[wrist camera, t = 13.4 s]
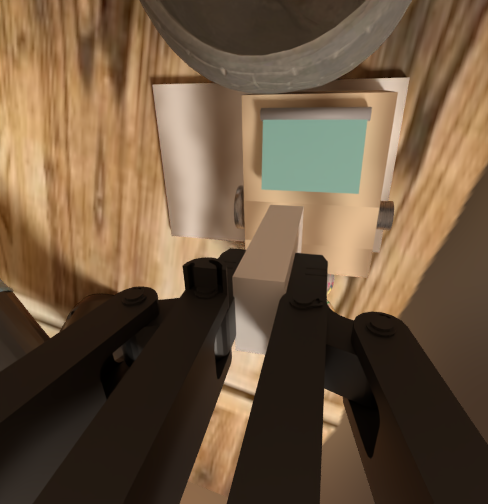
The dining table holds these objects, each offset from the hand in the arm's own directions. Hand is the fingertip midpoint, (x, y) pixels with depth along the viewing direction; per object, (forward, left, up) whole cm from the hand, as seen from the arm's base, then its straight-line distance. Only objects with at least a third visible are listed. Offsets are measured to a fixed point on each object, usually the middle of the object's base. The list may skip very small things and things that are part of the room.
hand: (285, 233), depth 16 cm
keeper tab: (0, +1, -15) cm, 15 cm away
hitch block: (-5, -3, -24) cm, 25 cm away
